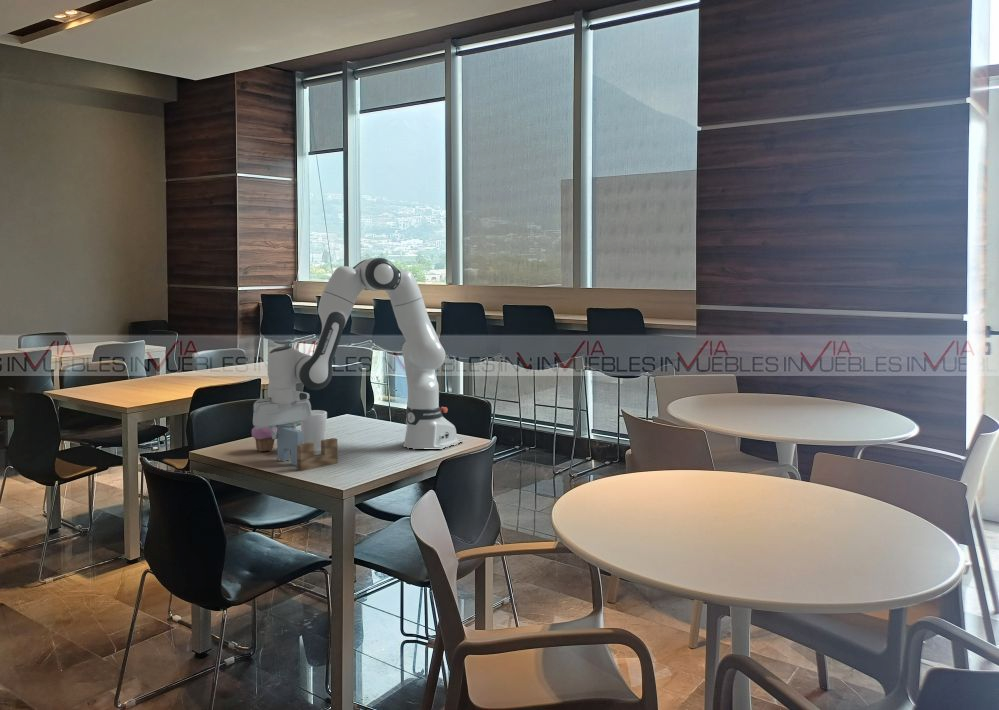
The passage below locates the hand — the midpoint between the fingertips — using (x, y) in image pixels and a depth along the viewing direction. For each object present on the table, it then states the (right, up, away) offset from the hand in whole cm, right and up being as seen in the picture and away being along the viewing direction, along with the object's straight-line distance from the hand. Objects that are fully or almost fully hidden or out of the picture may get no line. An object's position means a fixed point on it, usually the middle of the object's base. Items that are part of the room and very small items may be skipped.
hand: (283, 437), depth 258 cm
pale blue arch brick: (+3, -8, -2) cm, 9 cm away
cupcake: (-10, -6, +14) cm, 18 cm away
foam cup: (+6, -6, +17) cm, 19 cm away
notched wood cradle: (+13, -9, -7) cm, 17 cm away
